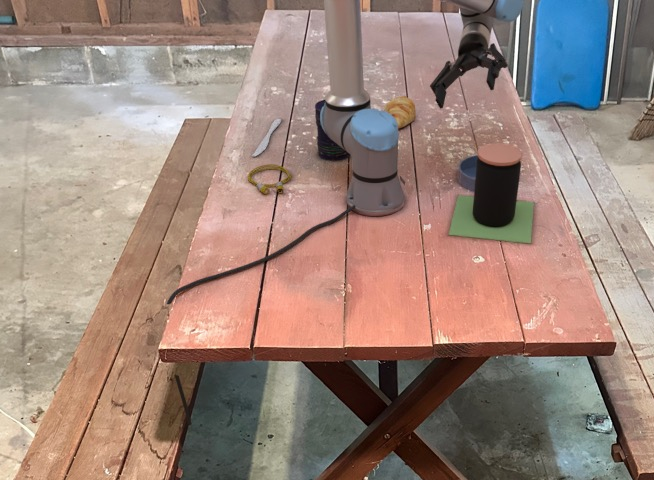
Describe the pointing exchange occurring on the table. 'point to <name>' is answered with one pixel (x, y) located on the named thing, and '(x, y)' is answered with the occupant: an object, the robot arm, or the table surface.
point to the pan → (467, 172)
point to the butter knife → (267, 138)
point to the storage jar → (327, 140)
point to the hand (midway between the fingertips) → (464, 95)
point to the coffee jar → (496, 184)
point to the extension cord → (264, 188)
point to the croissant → (401, 110)
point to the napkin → (511, 232)
